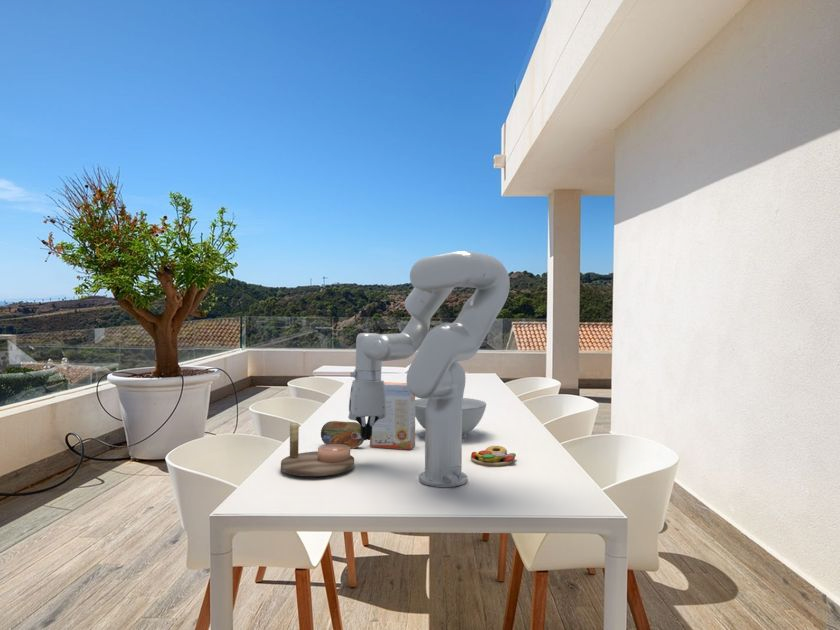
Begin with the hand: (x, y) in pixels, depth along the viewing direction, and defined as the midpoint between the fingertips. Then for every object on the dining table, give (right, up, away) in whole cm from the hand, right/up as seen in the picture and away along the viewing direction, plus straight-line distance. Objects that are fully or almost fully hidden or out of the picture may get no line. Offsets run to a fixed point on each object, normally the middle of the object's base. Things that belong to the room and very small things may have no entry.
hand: (366, 439), depth 154 cm
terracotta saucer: (-8, -5, -4) cm, 11 cm away
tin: (-9, -7, +20) cm, 23 cm away
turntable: (-13, -7, -6) cm, 16 cm away
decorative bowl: (+26, -8, +37) cm, 46 cm away
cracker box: (+7, -8, +20) cm, 23 cm away
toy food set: (+37, -8, +4) cm, 38 cm away
